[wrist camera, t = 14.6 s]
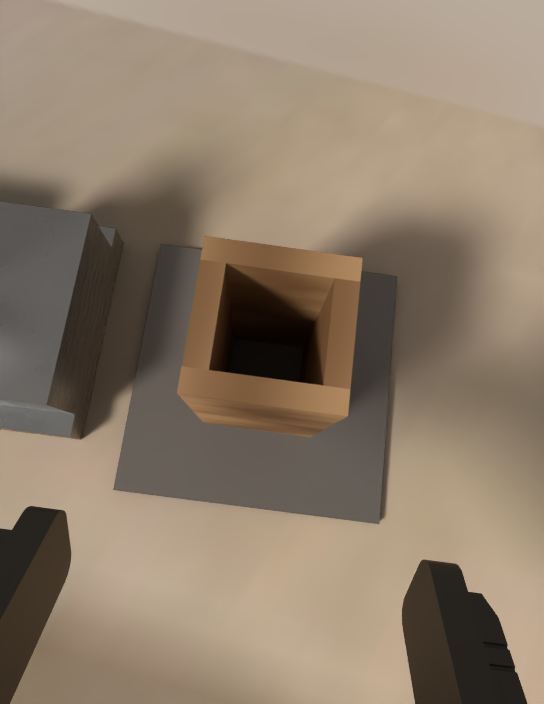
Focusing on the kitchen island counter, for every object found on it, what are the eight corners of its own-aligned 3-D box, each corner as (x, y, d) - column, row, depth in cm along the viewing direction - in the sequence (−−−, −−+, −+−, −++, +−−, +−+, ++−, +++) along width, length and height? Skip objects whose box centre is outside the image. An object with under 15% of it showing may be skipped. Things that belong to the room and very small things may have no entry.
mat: (394, 279, 26) (396, 276, 25) (377, 523, 23) (379, 524, 23) (162, 247, 26) (160, 244, 25) (115, 489, 23) (113, 490, 22)
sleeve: (321, 334, 24) (362, 257, 16) (310, 437, 23) (348, 416, 15) (220, 320, 24) (204, 236, 16) (203, 422, 23) (176, 393, 14)
